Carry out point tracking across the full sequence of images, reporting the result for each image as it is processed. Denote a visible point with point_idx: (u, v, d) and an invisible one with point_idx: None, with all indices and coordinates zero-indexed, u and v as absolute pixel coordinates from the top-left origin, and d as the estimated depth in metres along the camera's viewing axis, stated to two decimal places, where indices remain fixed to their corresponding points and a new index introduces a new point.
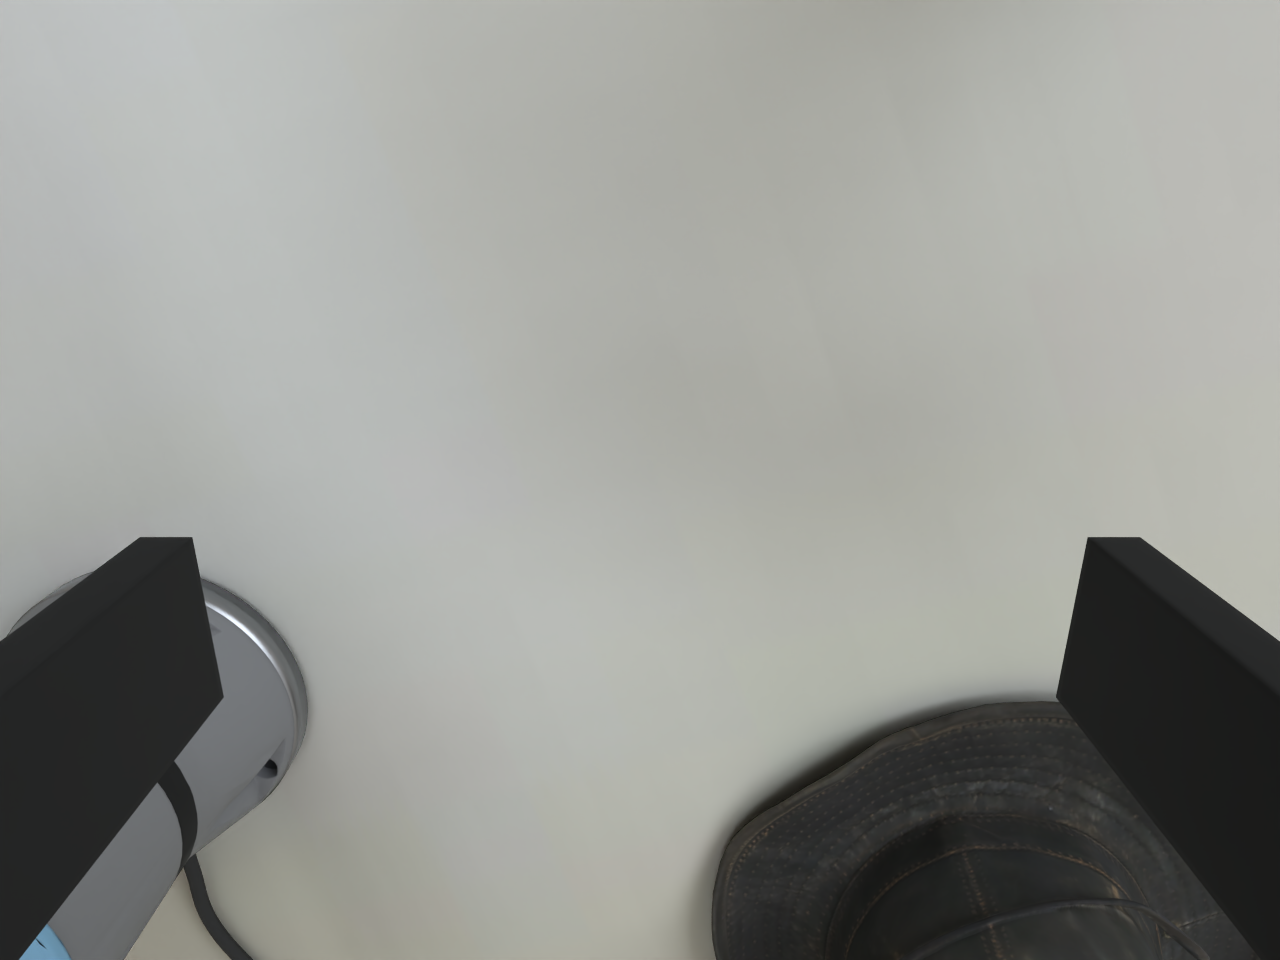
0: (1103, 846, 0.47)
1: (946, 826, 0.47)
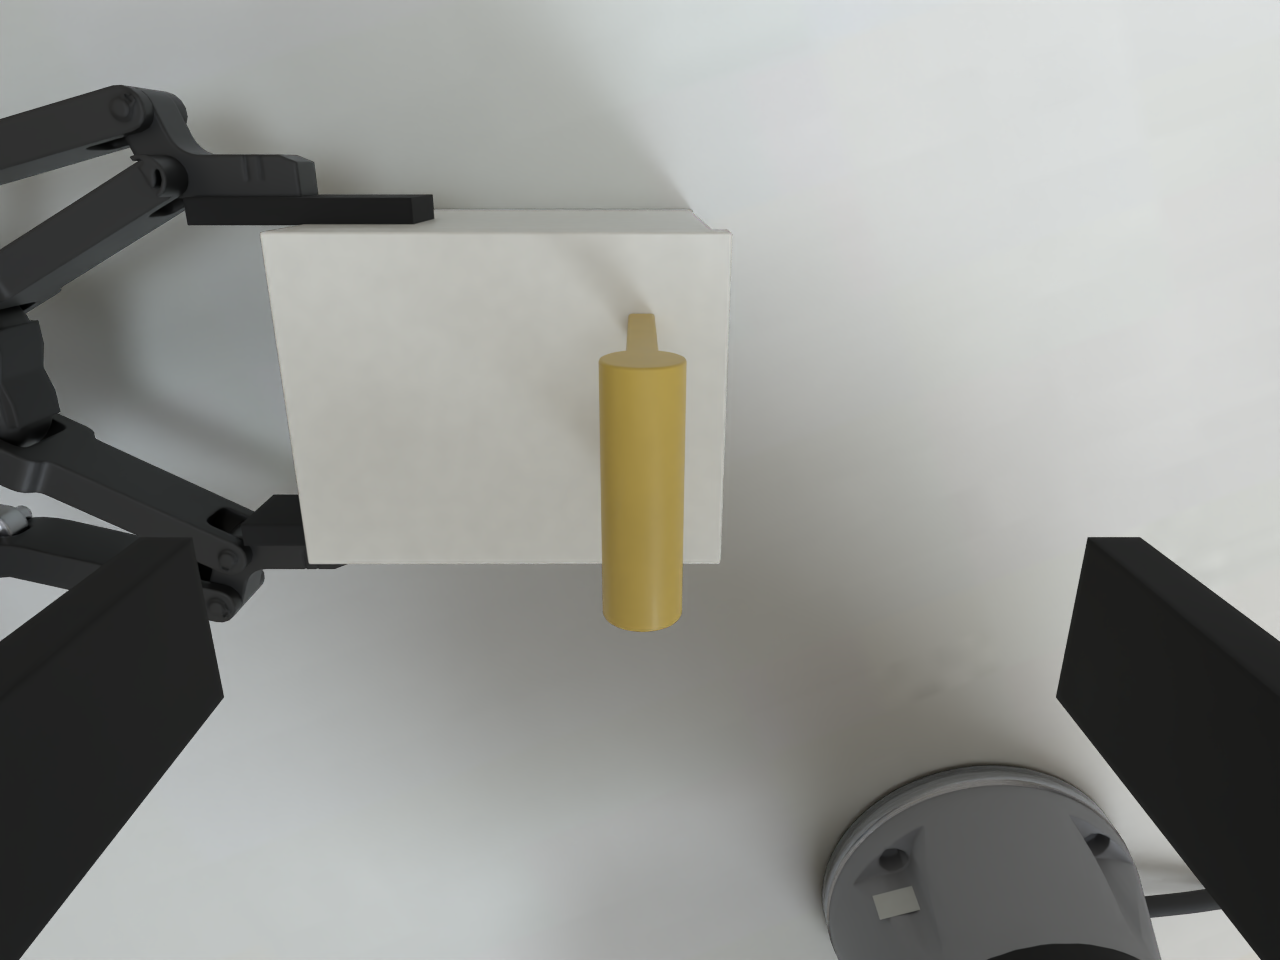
0: None
1: None
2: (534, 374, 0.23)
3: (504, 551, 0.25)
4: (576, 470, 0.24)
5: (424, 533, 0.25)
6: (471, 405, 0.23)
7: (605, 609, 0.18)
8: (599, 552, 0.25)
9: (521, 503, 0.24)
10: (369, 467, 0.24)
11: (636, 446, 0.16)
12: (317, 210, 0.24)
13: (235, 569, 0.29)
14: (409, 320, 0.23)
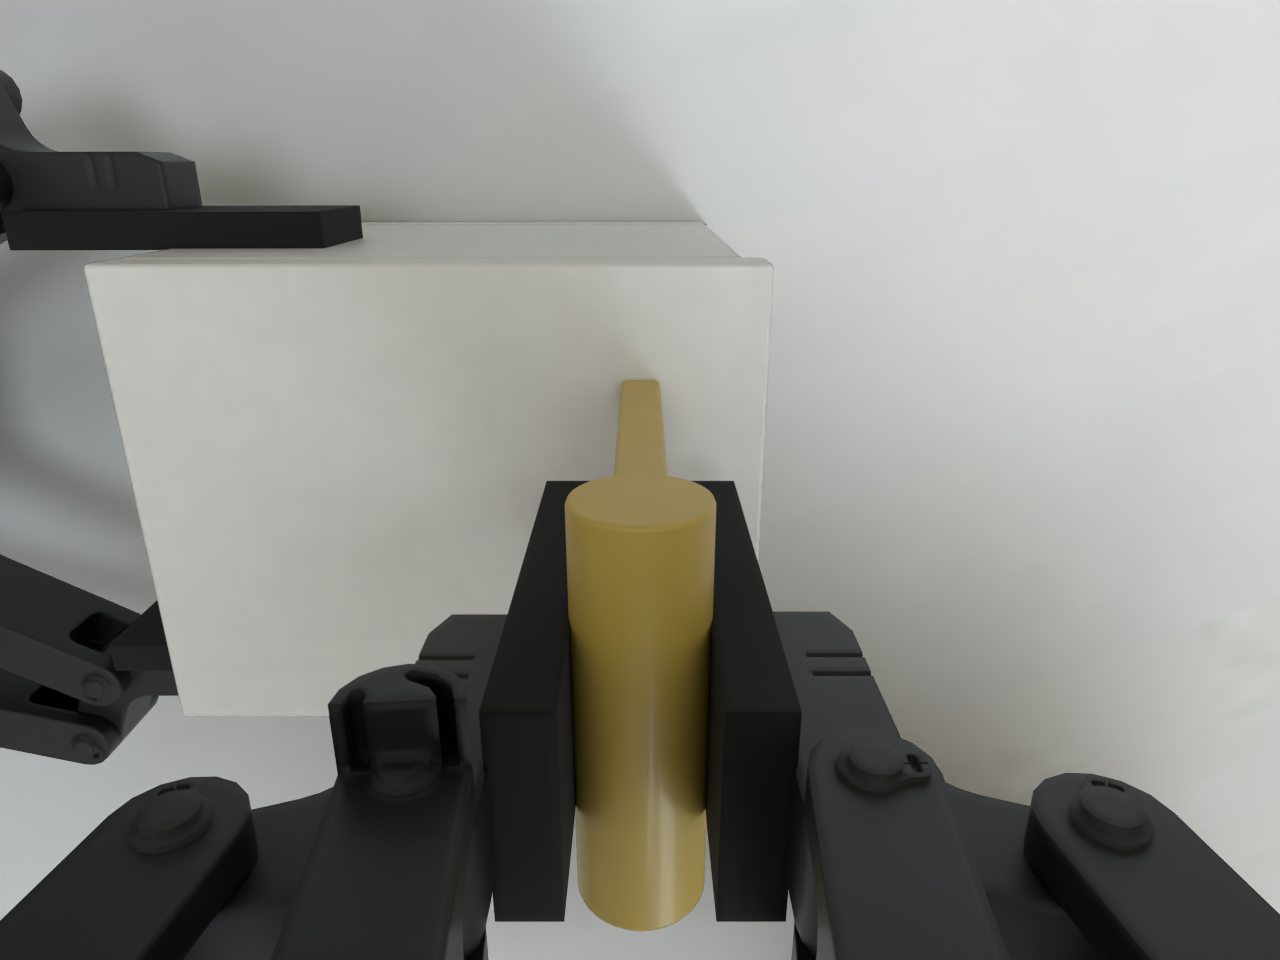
0: None
1: None
2: (487, 464, 0.16)
3: None
4: None
5: (340, 676, 0.18)
6: (400, 507, 0.17)
7: (581, 884, 0.11)
8: None
9: None
10: (259, 590, 0.17)
11: (629, 653, 0.09)
12: (189, 229, 0.18)
13: (106, 699, 0.22)
14: (306, 389, 0.16)
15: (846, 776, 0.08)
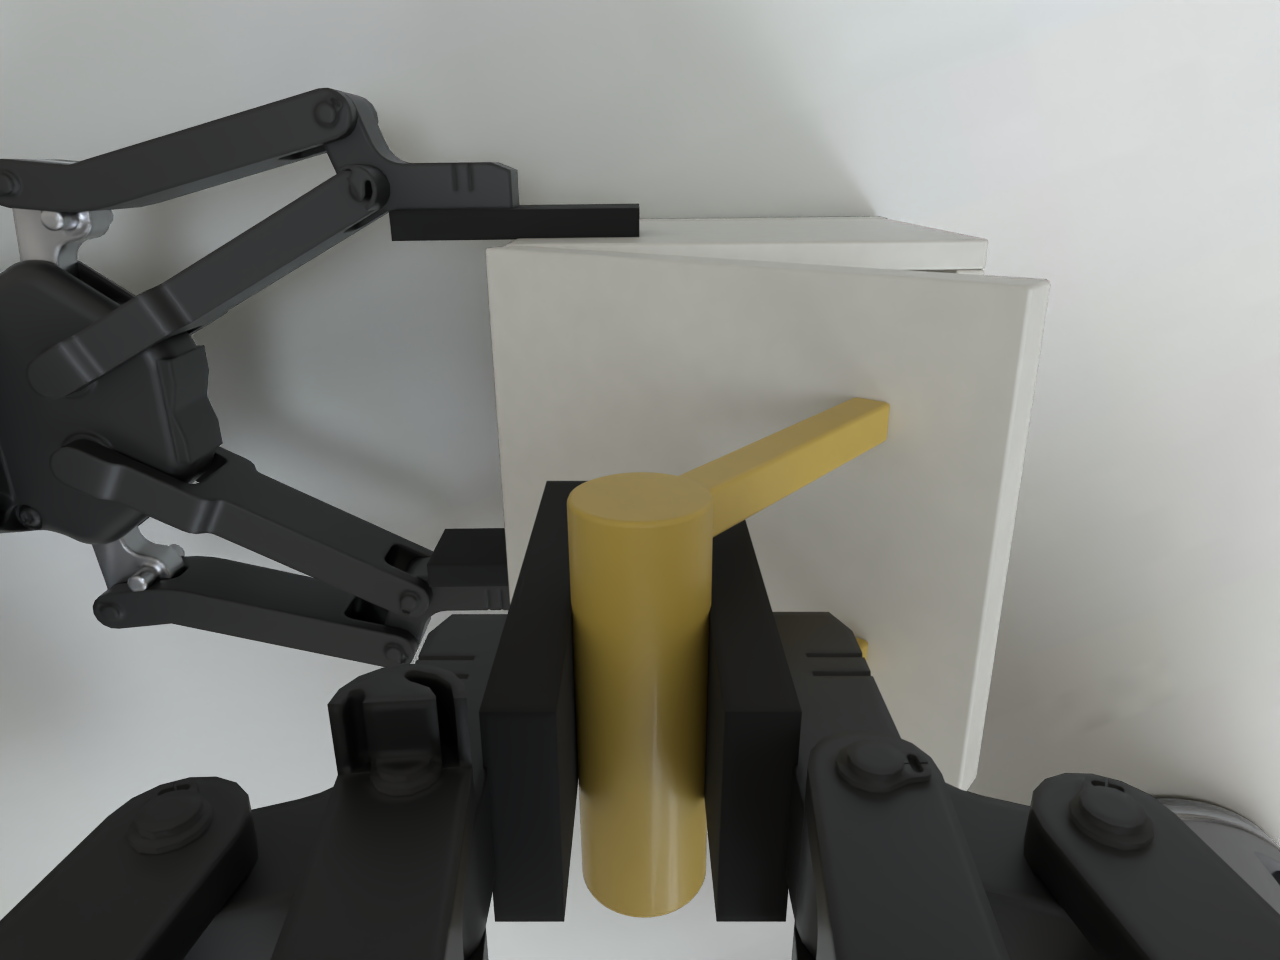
0: None
1: None
2: None
3: None
4: (769, 597, 0.17)
5: None
6: None
7: None
8: None
9: None
10: None
11: (589, 634, 0.10)
12: (535, 223, 0.22)
13: (416, 612, 0.26)
14: (603, 364, 0.18)
15: (846, 777, 0.08)
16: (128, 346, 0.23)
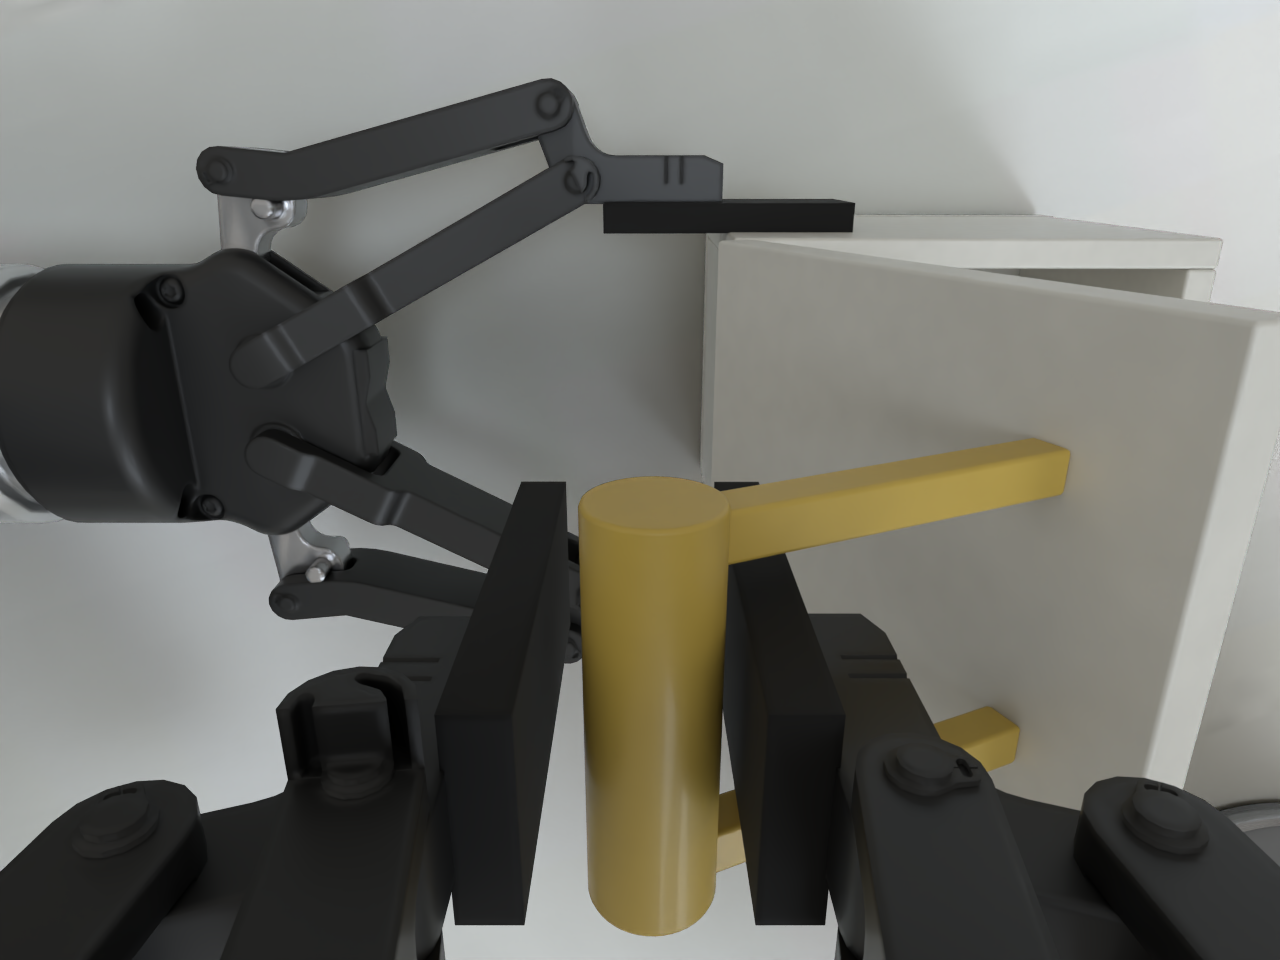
0: None
1: None
2: None
3: None
4: (926, 649, 0.15)
5: None
6: None
7: None
8: None
9: None
10: None
11: (585, 630, 0.10)
12: (749, 217, 0.22)
13: None
14: (801, 368, 0.17)
15: (895, 780, 0.08)
16: (332, 336, 0.23)
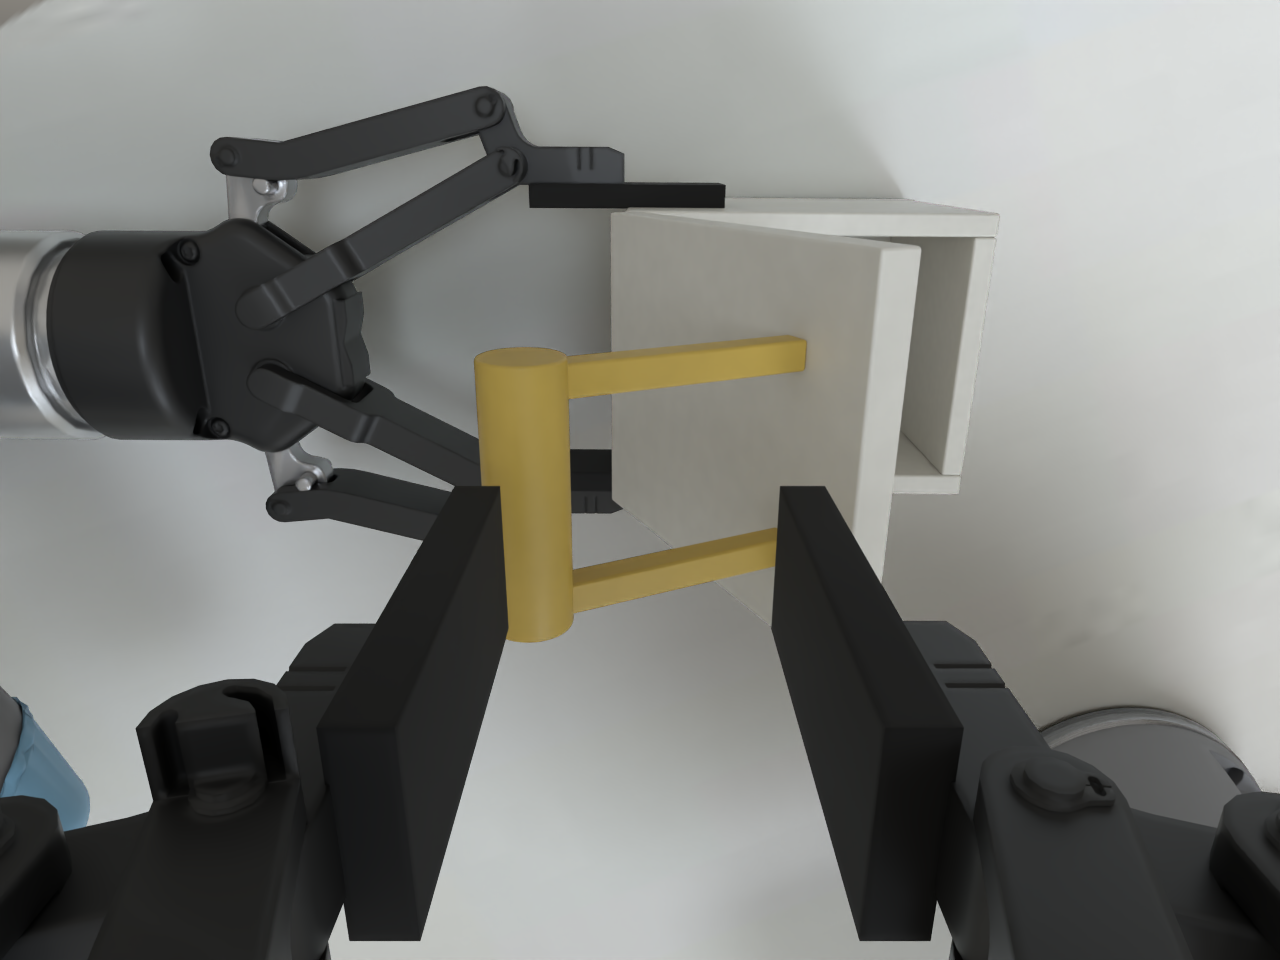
0: None
1: None
2: (724, 381, 0.21)
3: None
4: (742, 497, 0.22)
5: (659, 507, 0.26)
6: (689, 398, 0.23)
7: None
8: (750, 597, 0.22)
9: (708, 512, 0.23)
10: (639, 431, 0.26)
11: None
12: (643, 195, 0.28)
13: None
14: (664, 304, 0.24)
15: (1022, 792, 0.07)
16: (316, 288, 0.29)
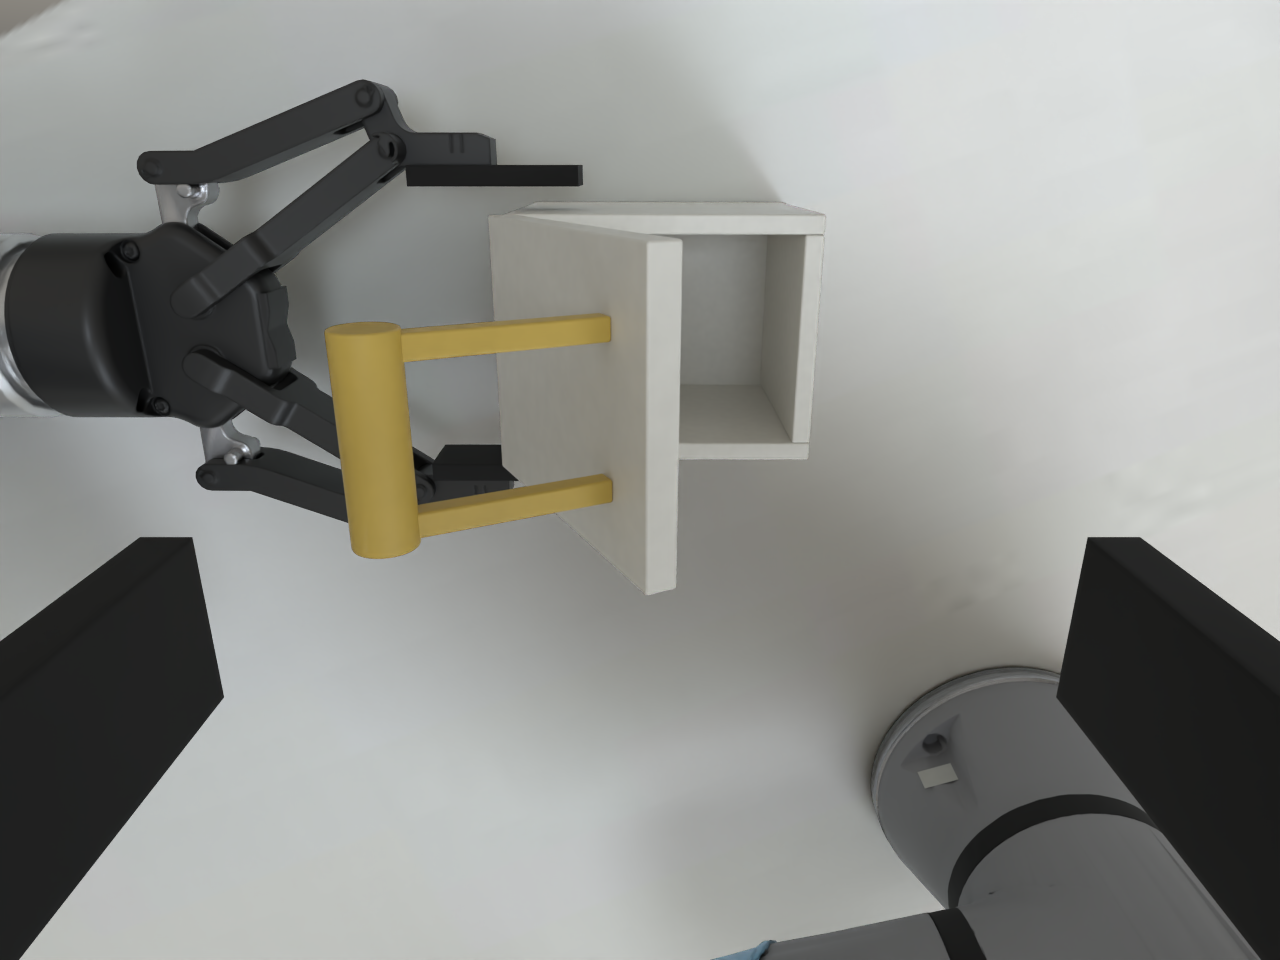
0: None
1: None
2: (565, 355, 0.26)
3: None
4: (581, 451, 0.26)
5: (532, 468, 0.30)
6: (545, 372, 0.28)
7: None
8: (592, 536, 0.26)
9: (562, 467, 0.28)
10: (516, 403, 0.31)
11: (333, 394, 0.20)
12: (506, 174, 0.32)
13: (423, 500, 0.37)
14: (525, 292, 0.28)
15: None
16: (237, 276, 0.33)
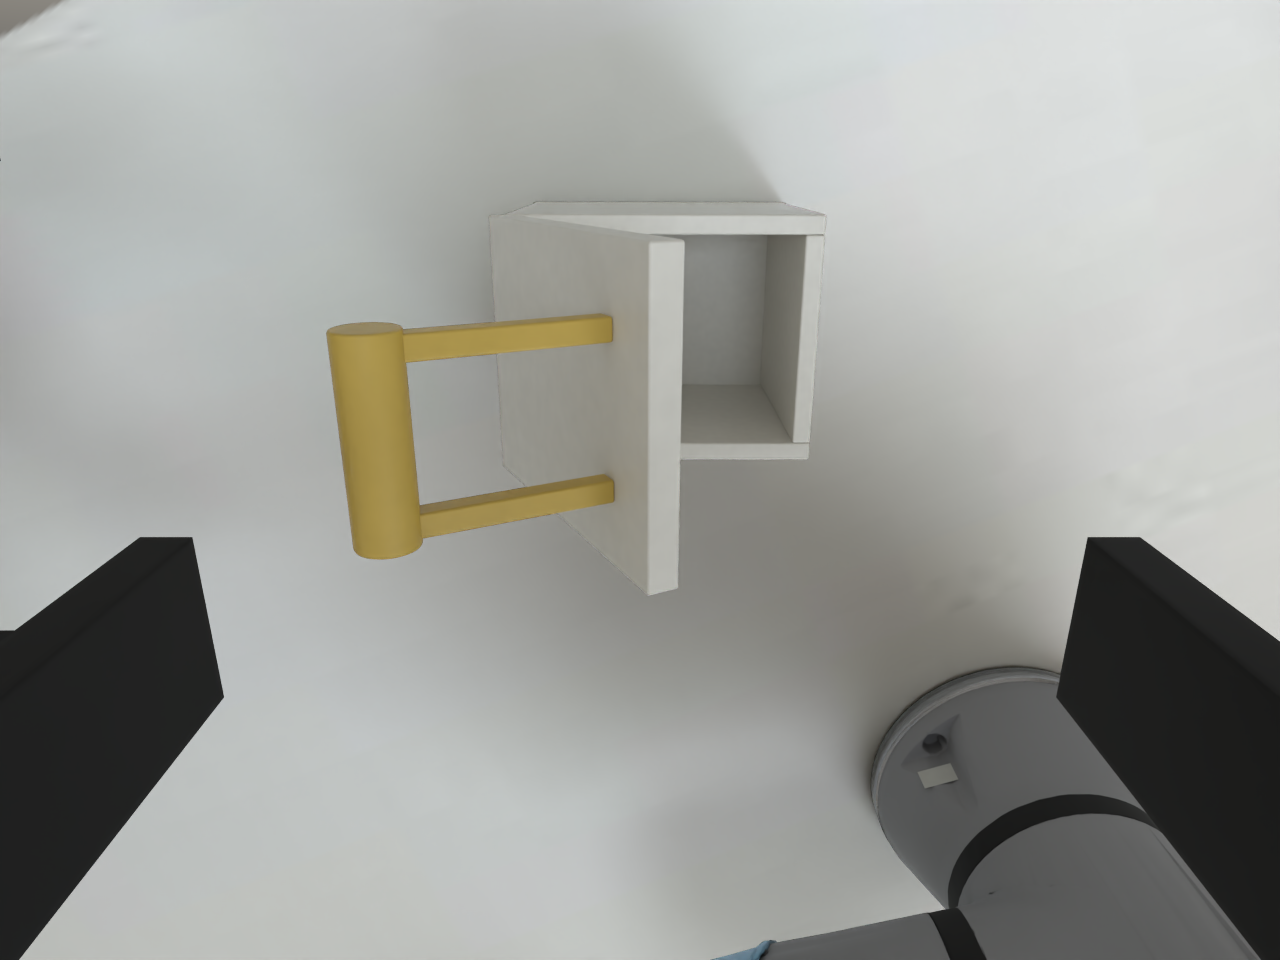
0: None
1: None
2: (566, 355, 0.26)
3: None
4: (583, 452, 0.26)
5: (533, 468, 0.30)
6: (546, 372, 0.28)
7: None
8: (593, 536, 0.26)
9: (564, 467, 0.28)
10: (517, 404, 0.31)
11: (335, 394, 0.20)
12: None
13: None
14: (526, 292, 0.28)
15: None
16: None
